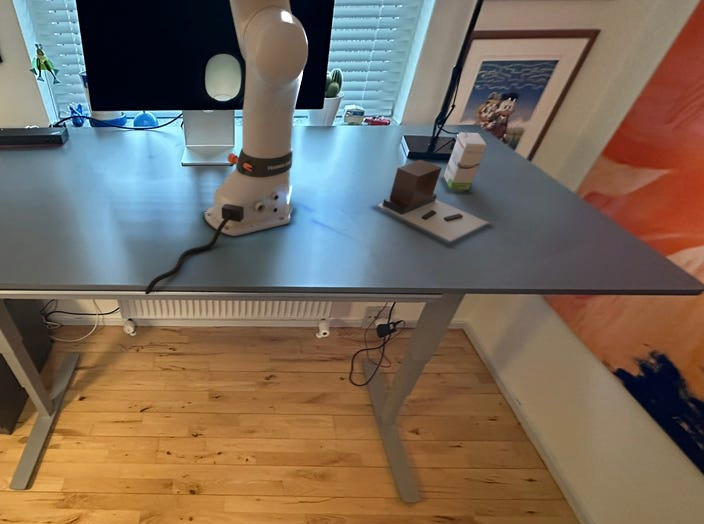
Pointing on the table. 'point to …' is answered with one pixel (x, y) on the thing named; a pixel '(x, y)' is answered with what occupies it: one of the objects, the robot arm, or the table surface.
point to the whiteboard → (442, 220)
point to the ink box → (464, 160)
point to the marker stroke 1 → (428, 215)
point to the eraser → (413, 187)
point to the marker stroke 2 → (453, 217)
